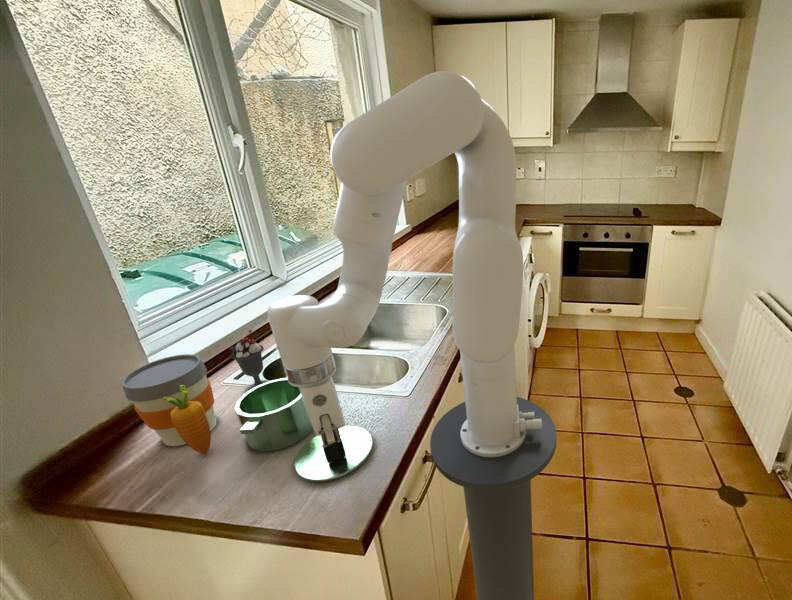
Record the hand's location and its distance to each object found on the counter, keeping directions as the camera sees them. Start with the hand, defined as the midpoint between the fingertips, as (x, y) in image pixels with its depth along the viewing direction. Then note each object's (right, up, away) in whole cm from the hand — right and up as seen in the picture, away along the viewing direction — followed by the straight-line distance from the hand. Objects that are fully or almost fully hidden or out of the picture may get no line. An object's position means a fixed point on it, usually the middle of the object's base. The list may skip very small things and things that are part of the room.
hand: (334, 448), depth 73 cm
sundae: (-29, +7, +23) cm, 37 cm away
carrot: (-26, -2, +2) cm, 26 cm away
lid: (0, -1, 0) cm, 1 cm away
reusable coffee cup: (-34, 0, +9) cm, 35 cm away
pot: (-14, +1, +8) cm, 16 cm away
